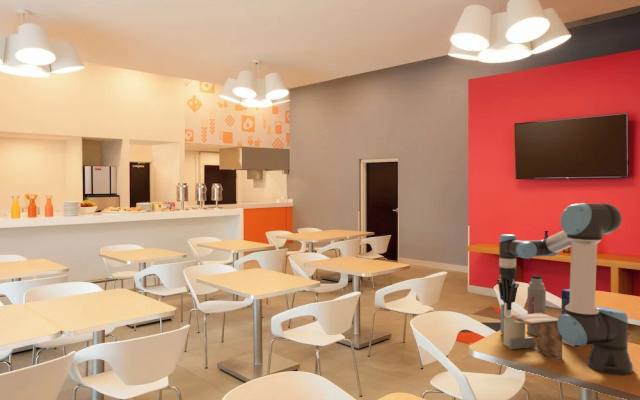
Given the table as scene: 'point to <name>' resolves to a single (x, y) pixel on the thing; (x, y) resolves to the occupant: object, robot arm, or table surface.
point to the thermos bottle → (536, 300)
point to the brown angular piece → (544, 333)
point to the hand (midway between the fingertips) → (507, 315)
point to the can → (513, 330)
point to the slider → (519, 341)
